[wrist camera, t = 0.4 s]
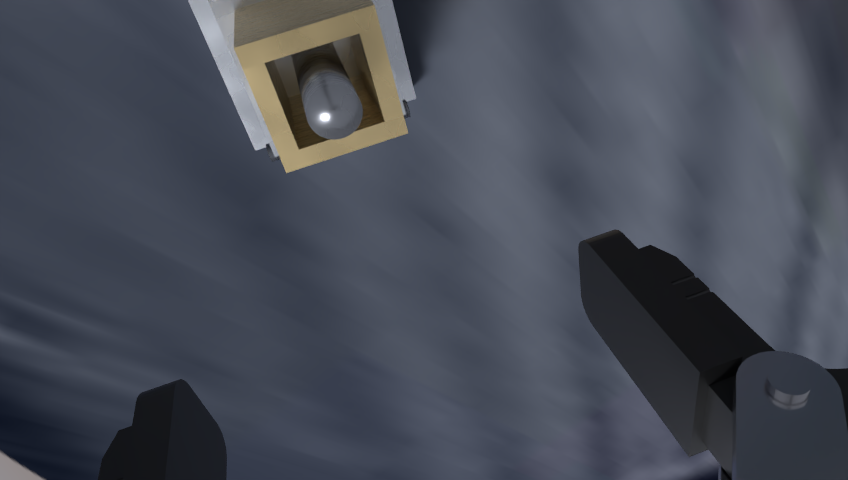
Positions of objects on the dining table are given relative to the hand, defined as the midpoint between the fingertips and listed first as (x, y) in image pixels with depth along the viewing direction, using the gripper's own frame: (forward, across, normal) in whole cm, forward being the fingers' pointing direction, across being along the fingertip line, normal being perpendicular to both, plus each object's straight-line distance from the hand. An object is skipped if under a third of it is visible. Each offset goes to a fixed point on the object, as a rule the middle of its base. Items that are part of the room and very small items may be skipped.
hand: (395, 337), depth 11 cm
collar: (+19, 0, 0) cm, 19 cm away
